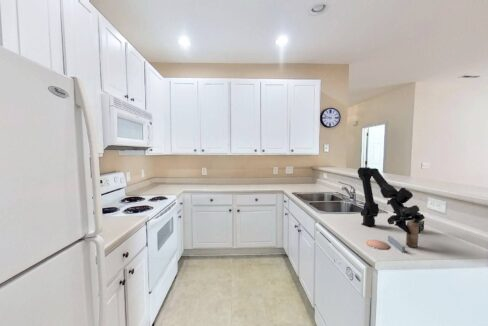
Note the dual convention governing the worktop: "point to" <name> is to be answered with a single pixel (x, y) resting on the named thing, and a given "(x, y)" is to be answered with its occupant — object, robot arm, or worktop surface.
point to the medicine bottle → (421, 223)
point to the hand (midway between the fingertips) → (414, 233)
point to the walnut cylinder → (412, 234)
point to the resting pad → (377, 244)
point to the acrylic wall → (396, 244)
